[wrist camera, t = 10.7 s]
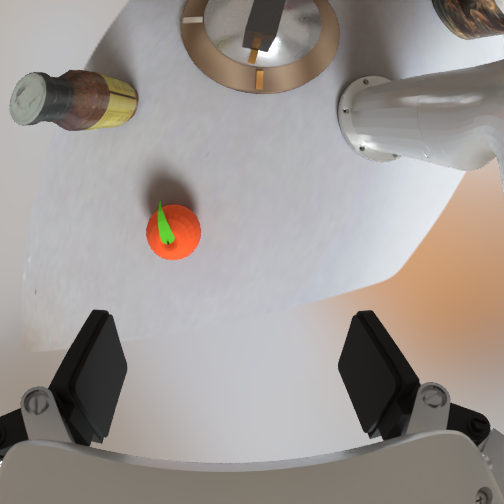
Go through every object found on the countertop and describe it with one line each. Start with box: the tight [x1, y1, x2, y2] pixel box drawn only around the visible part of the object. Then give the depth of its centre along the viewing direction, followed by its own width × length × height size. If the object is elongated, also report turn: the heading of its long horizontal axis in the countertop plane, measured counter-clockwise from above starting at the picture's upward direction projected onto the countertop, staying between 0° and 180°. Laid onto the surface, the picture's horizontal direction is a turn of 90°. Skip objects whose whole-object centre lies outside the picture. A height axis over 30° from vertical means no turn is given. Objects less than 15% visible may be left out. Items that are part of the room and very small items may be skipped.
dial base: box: [181, 0, 340, 94], centre depth 26 cm, size 20×20×2 cm
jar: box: [432, 0, 504, 40], centre depth 17 cm, size 12×12×15 cm
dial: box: [204, 0, 322, 69], centre depth 22 cm, size 14×14×7 cm
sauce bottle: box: [10, 70, 138, 131], centre depth 21 cm, size 7×6×20 cm
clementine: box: [146, 200, 201, 260], centre depth 34 cm, size 8×7×7 cm
